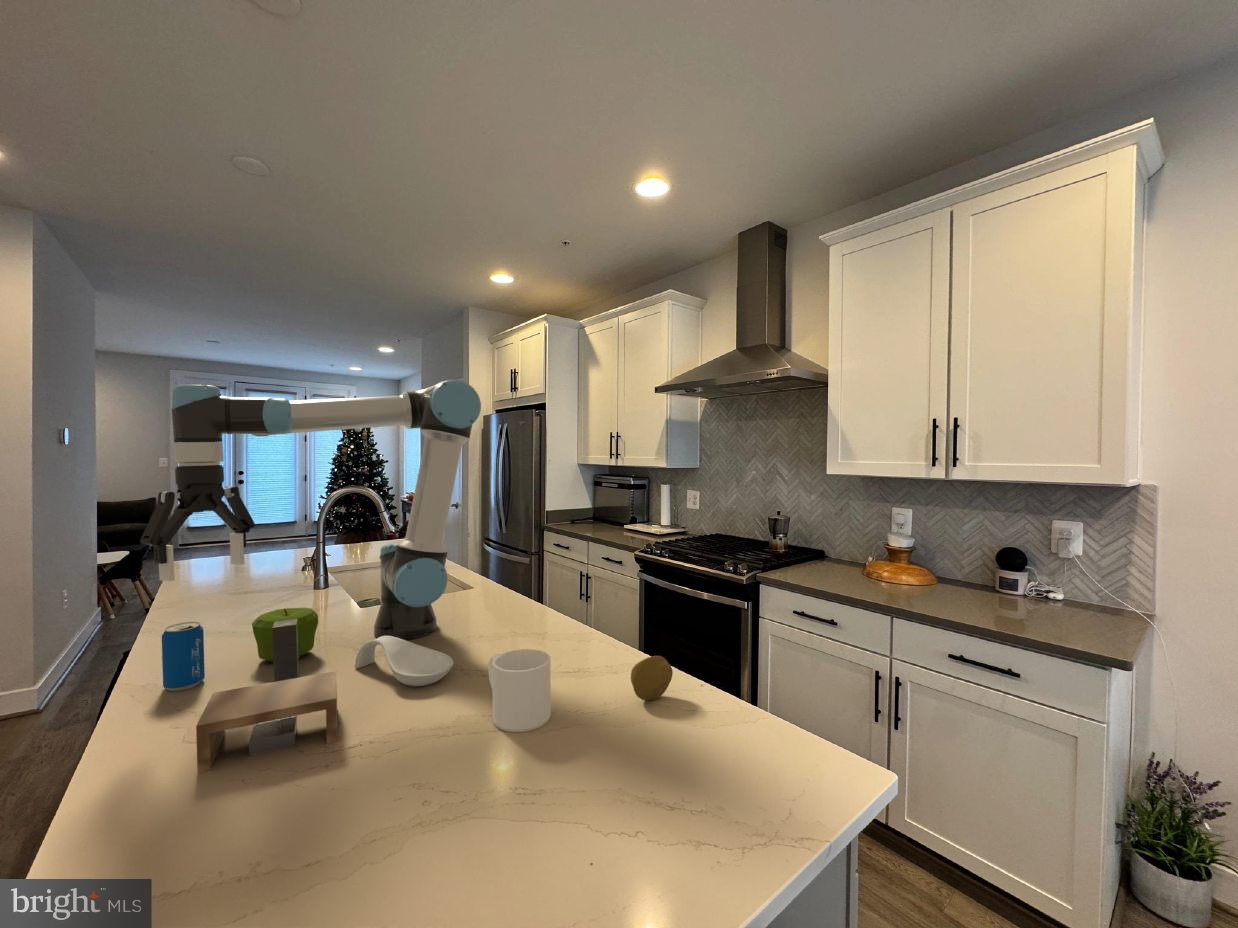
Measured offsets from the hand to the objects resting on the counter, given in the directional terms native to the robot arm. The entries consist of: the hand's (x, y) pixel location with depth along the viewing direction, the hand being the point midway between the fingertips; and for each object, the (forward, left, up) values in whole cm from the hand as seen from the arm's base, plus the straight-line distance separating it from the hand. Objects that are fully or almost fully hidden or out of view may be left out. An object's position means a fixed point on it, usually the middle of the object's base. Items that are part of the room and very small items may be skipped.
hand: (204, 571), depth 105 cm
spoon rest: (-35, +12, -24) cm, 44 cm away
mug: (-51, +41, -23) cm, 69 cm away
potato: (-75, +47, -23) cm, 91 cm away
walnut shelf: (-14, +29, -23) cm, 39 cm away
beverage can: (+4, -3, -23) cm, 24 cm away
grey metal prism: (-14, +13, -23) cm, 30 cm away
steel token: (-14, +30, -24) cm, 40 cm away
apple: (-13, -10, -23) cm, 29 cm away
